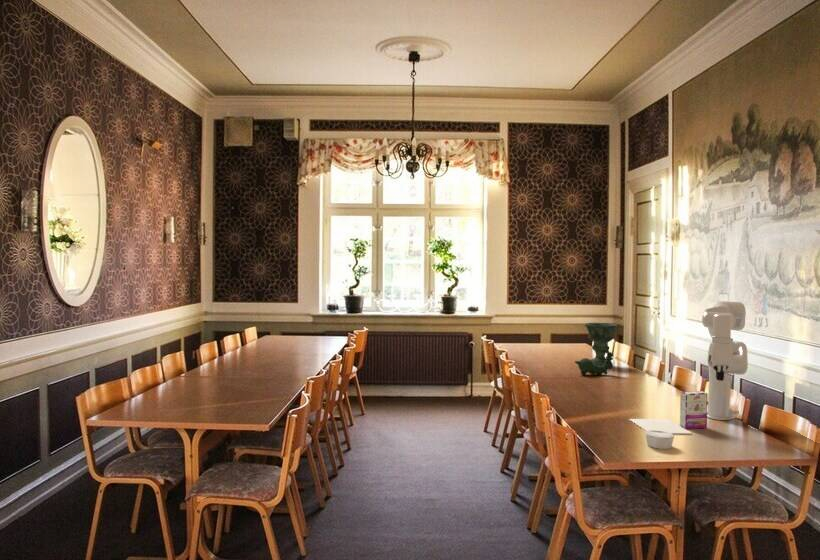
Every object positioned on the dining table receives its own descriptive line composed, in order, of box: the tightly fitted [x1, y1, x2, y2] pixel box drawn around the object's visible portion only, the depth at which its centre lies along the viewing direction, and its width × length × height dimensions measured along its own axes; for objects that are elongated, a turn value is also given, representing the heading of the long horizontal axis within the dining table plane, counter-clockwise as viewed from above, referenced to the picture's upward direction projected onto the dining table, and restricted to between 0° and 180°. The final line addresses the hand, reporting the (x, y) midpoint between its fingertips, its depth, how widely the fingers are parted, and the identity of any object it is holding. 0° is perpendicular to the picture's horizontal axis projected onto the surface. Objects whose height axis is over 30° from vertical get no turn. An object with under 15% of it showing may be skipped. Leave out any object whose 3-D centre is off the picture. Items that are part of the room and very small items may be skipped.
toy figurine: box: [574, 348, 614, 377], centre depth 422 cm, size 9×19×25 cm
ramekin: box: [645, 430, 675, 450], centre depth 266 cm, size 11×11×5 cm
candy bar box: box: [679, 390, 708, 430], centre depth 296 cm, size 11×5×16 cm, turn 101°
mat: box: [628, 418, 693, 435], centre depth 296 cm, size 19×24×1 cm
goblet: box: [584, 322, 619, 368], centre depth 457 cm, size 22×23×30 cm
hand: (719, 380), depth 296 cm, fingers closed
